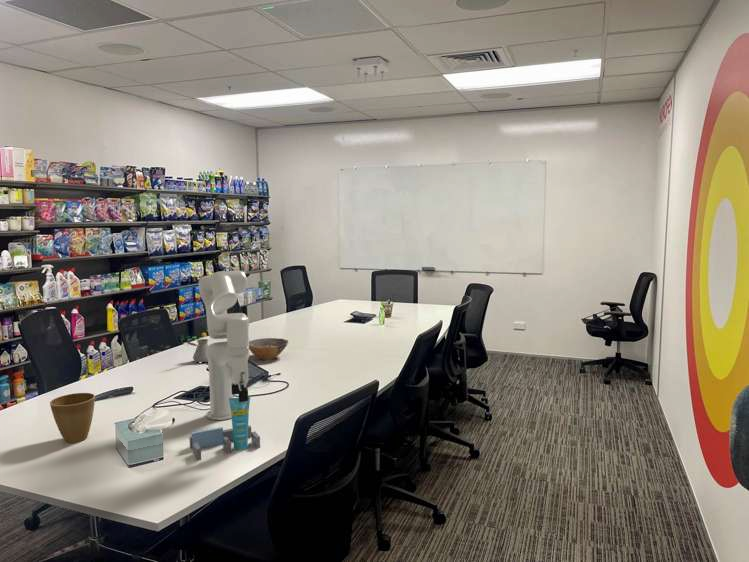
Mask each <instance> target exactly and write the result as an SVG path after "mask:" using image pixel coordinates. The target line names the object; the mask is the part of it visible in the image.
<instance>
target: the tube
mask: <svg viewBox="0 0 749 562" xmlns="http://www.w3.org/2000/svg"><path fill="white" fill-rule="evenodd" d="M250 400H251V396H250V395H248V401H244V402H239V397H233V398H229V402H230V408H231V417H232V418H231V424H232V425H231V427H232V428H233V441H232V443H233V449H234V450H236V451H244V450H246V449H248V443H249V442H248V441H249V438H248V425H249V417H250V402H251V401H250ZM232 428H231V429H232Z"/></svg>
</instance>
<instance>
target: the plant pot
mask: <svg viewBox="0 0 749 562" xmlns="http://www.w3.org/2000/svg"><path fill="white" fill-rule="evenodd" d="M95 399H96V395H95V394H94V393H91V392H76V393H69V394H65V395H61V396H58V397H55V398H53V399H51V400H50V402H49V406H50V409H51V412H52V417H53V419H54V422H55V424H56V426H57V430H58V432H59V433H60V436H61V437H62V439H63V441H64V442H65V443H67V444H76V443H81V442H83V441H85V440H87V439H88V436H89V432H90V429H91V425H92V421H93V415H94V410H95V401H96V400H95Z"/></svg>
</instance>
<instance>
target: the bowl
mask: <svg viewBox="0 0 749 562" xmlns="http://www.w3.org/2000/svg"><path fill="white" fill-rule="evenodd" d="M288 344H289V340H287V339H284V338H277V337H266V338H265V337H263V338H256V339H252V340H249V352H251V353H252V354H253V356H254V357H255V358H257V359H259V360H263V361H265V360H266V361H269V360H275V358H278V356H279V355H281V353H282V352H283V351H284V350H285V349H286V347H287V346H288Z"/></svg>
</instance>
